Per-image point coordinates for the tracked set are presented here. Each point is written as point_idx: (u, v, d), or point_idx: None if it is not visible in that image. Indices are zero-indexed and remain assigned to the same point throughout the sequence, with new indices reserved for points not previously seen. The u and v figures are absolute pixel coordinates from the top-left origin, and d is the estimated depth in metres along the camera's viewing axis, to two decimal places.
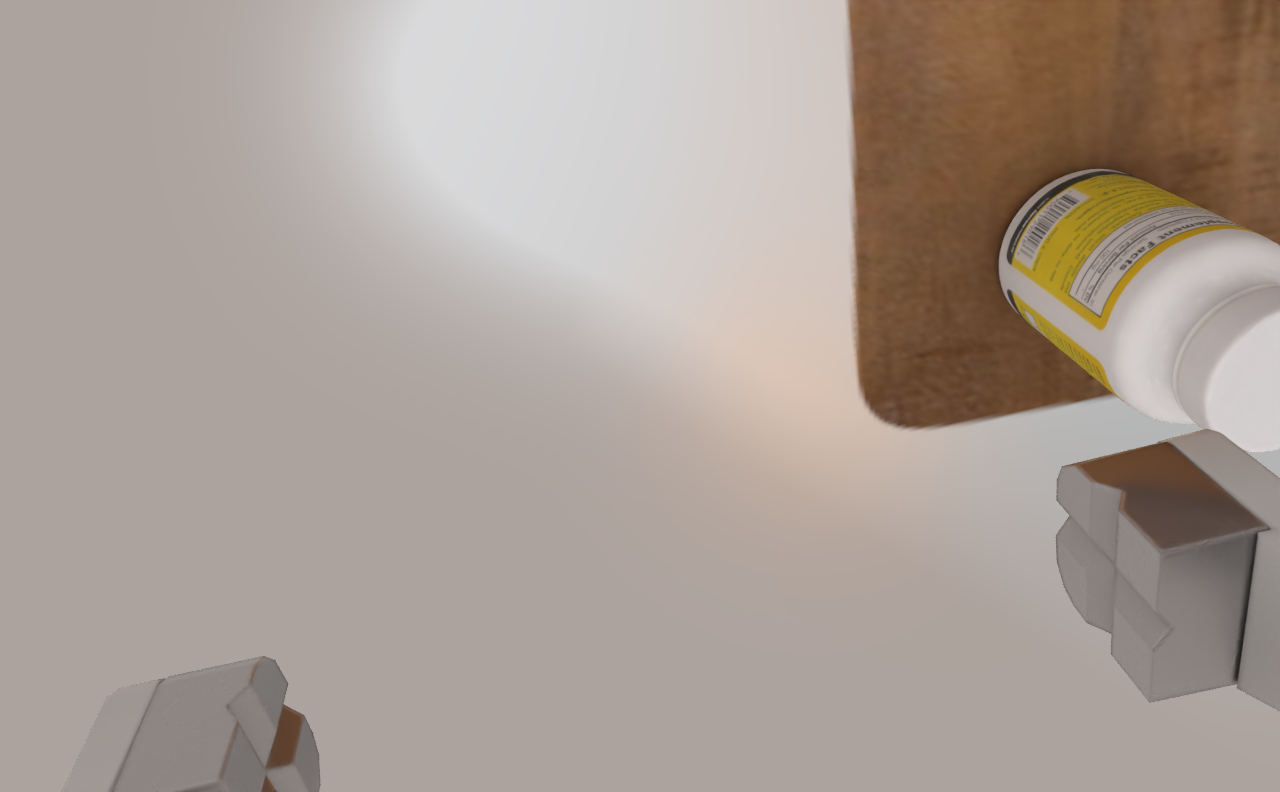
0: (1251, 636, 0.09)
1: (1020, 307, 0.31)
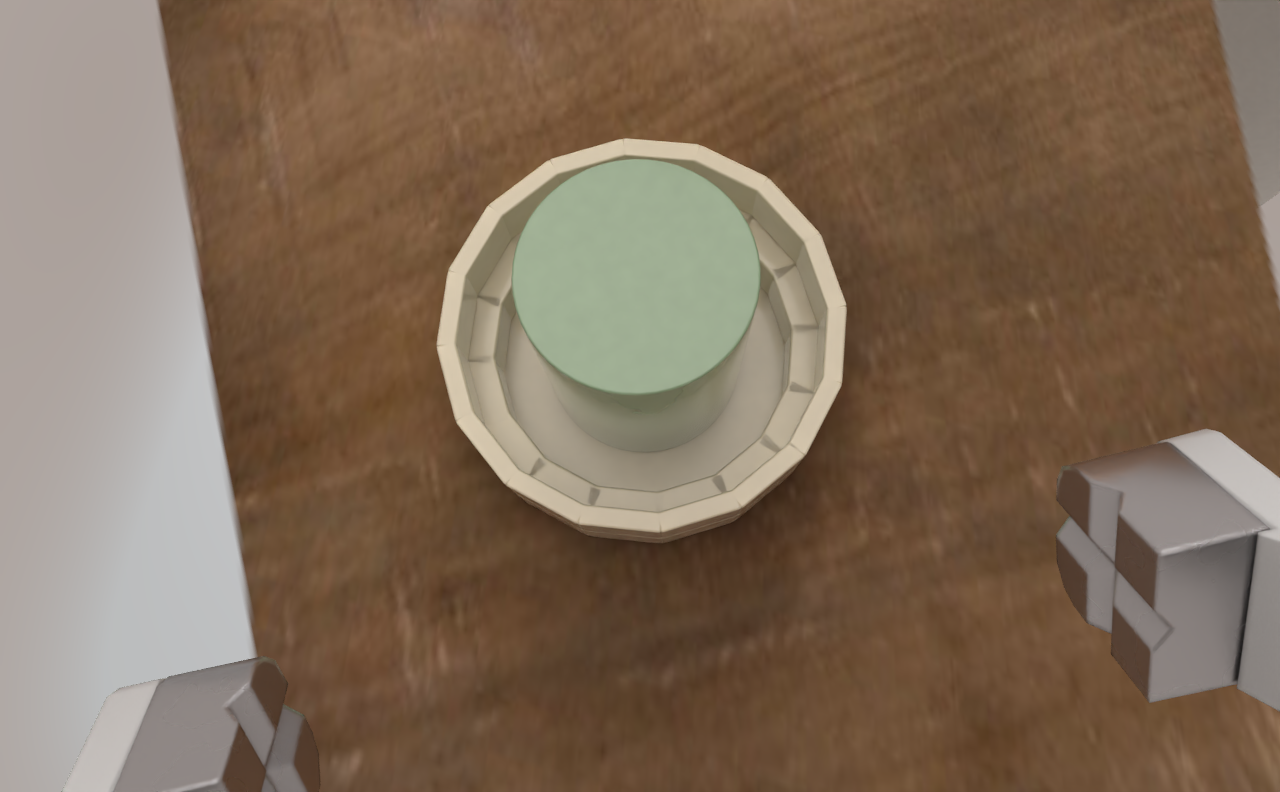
0: (1251, 635, 0.09)
1: None
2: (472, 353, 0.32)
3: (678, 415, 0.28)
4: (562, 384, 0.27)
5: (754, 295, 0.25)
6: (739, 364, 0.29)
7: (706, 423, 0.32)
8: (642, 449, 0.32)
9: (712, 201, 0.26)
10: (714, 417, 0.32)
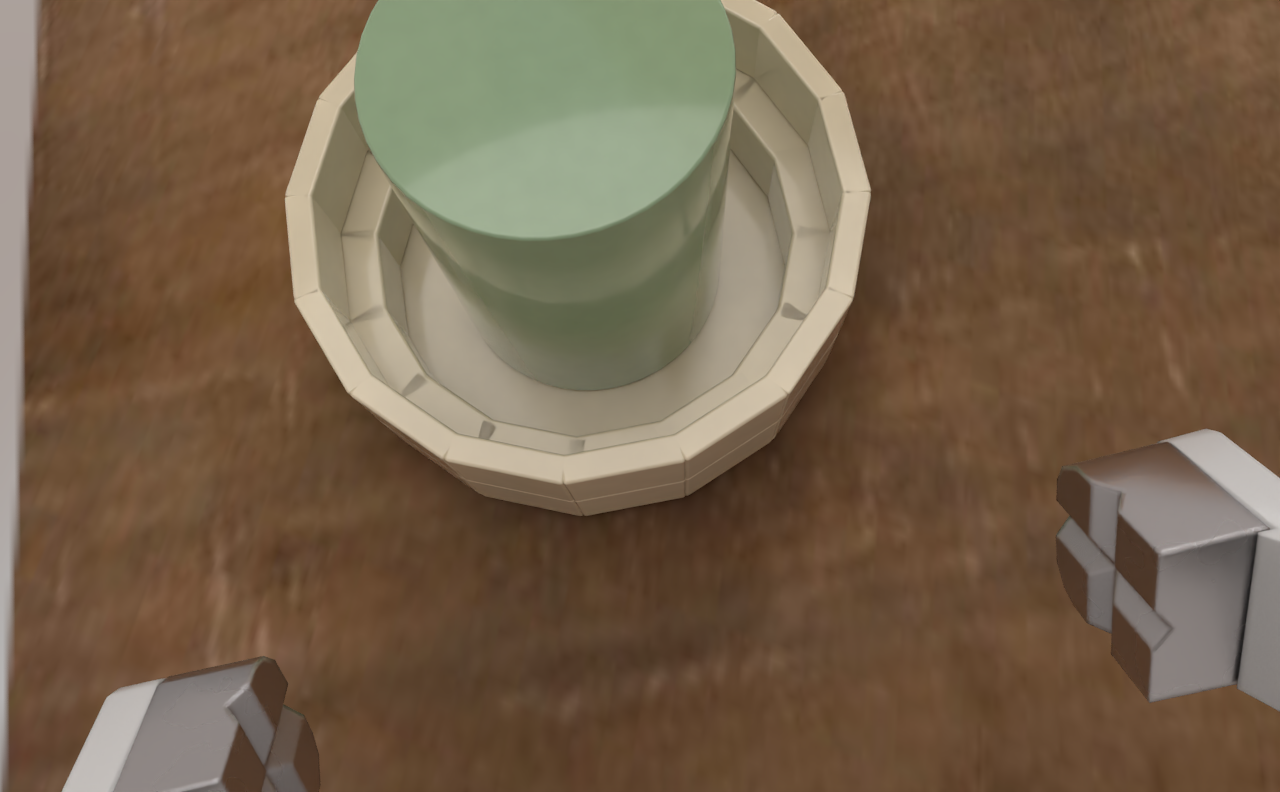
0: (1251, 636, 0.09)
1: None
2: (348, 226, 0.23)
3: (603, 311, 0.19)
4: (427, 237, 0.18)
5: (722, 108, 0.16)
6: (704, 253, 0.20)
7: (659, 352, 0.23)
8: (569, 382, 0.23)
9: None
10: (672, 346, 0.23)
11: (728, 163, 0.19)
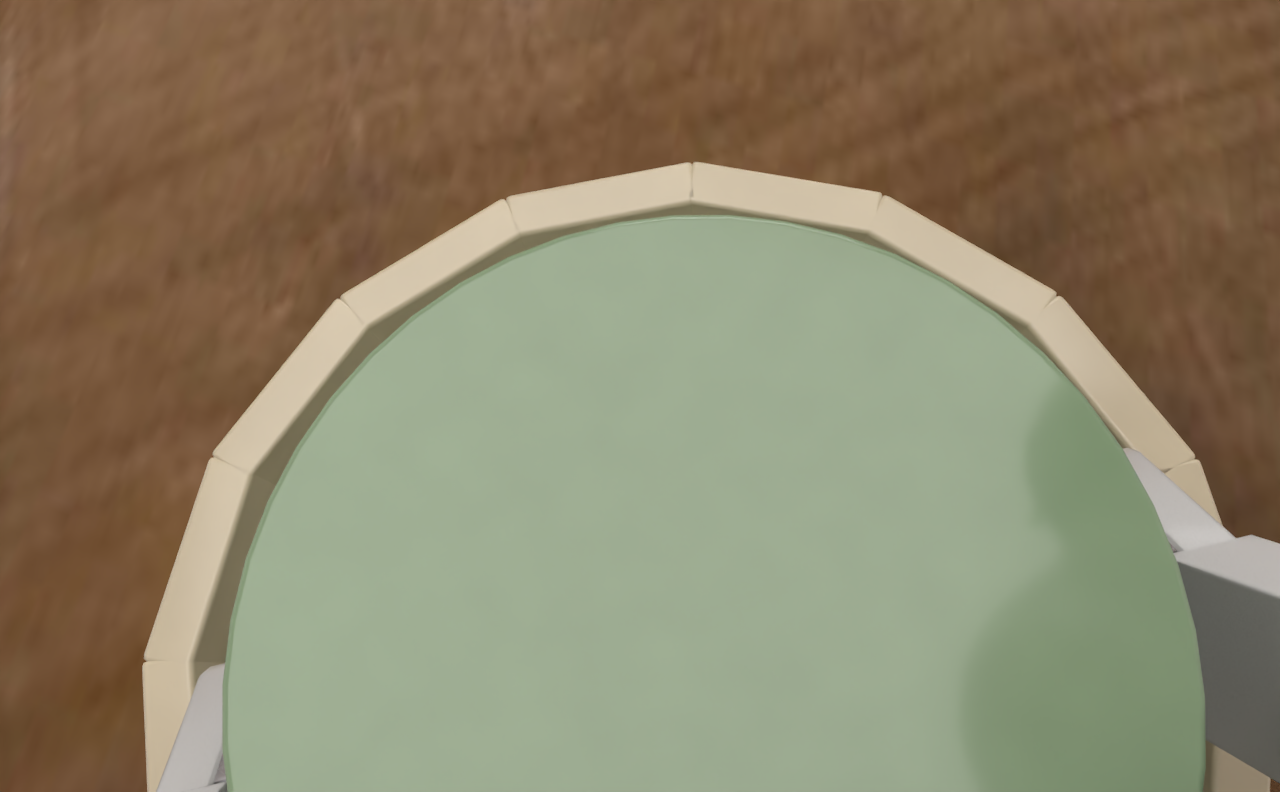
0: None
1: None
2: None
3: None
4: None
5: None
6: None
7: None
8: None
9: (1015, 398, 0.07)
10: None
11: None
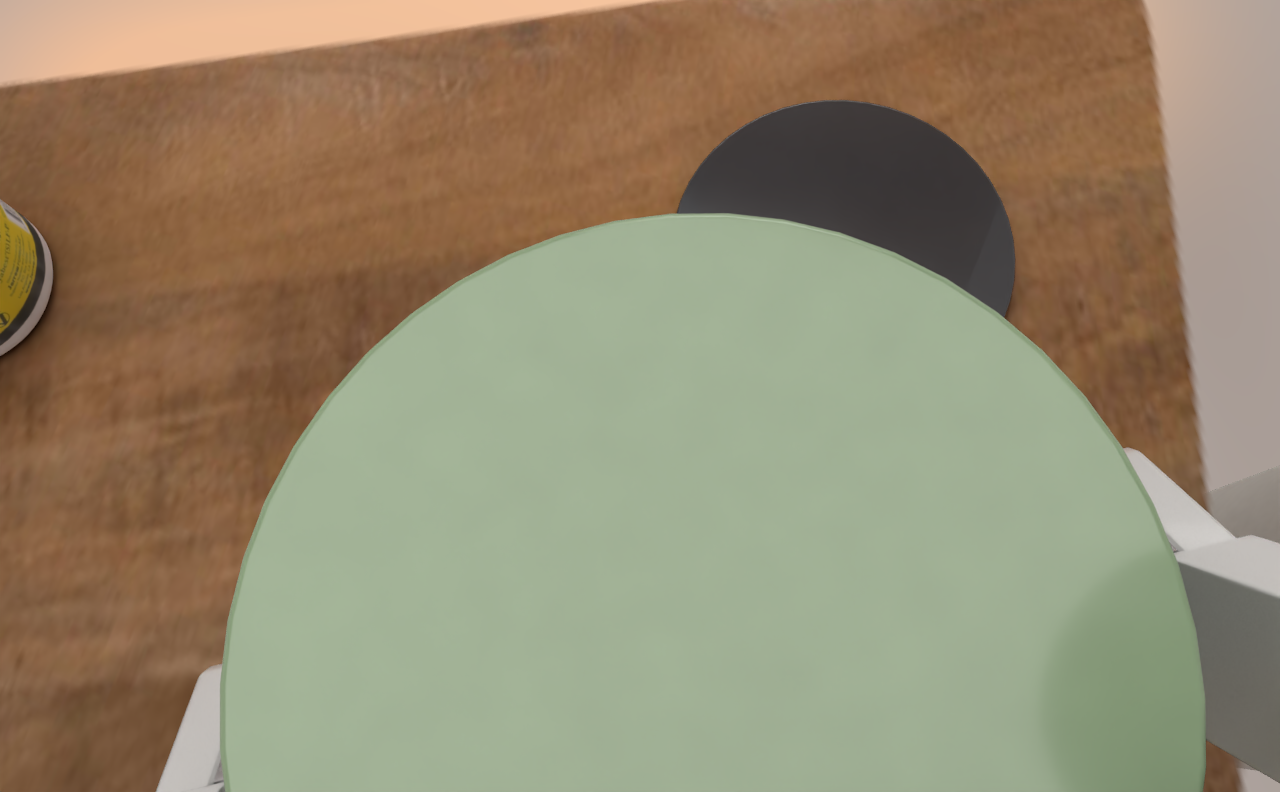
0: None
1: None
2: None
3: None
4: None
5: None
6: None
7: None
8: None
9: (1015, 397, 0.07)
10: None
11: None
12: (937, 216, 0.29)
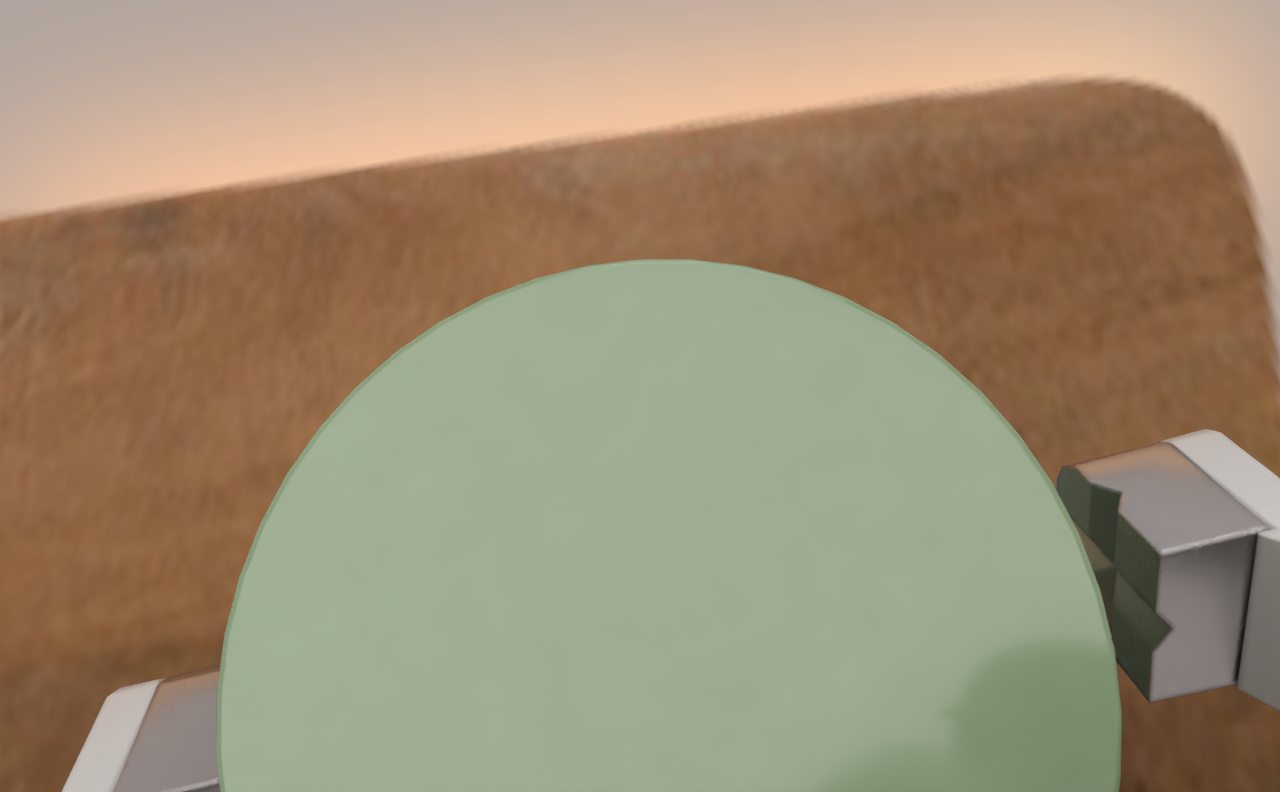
0: (1250, 636, 0.09)
1: None
2: None
3: None
4: None
5: None
6: None
7: None
8: None
9: (954, 434, 0.07)
10: None
11: None
12: None
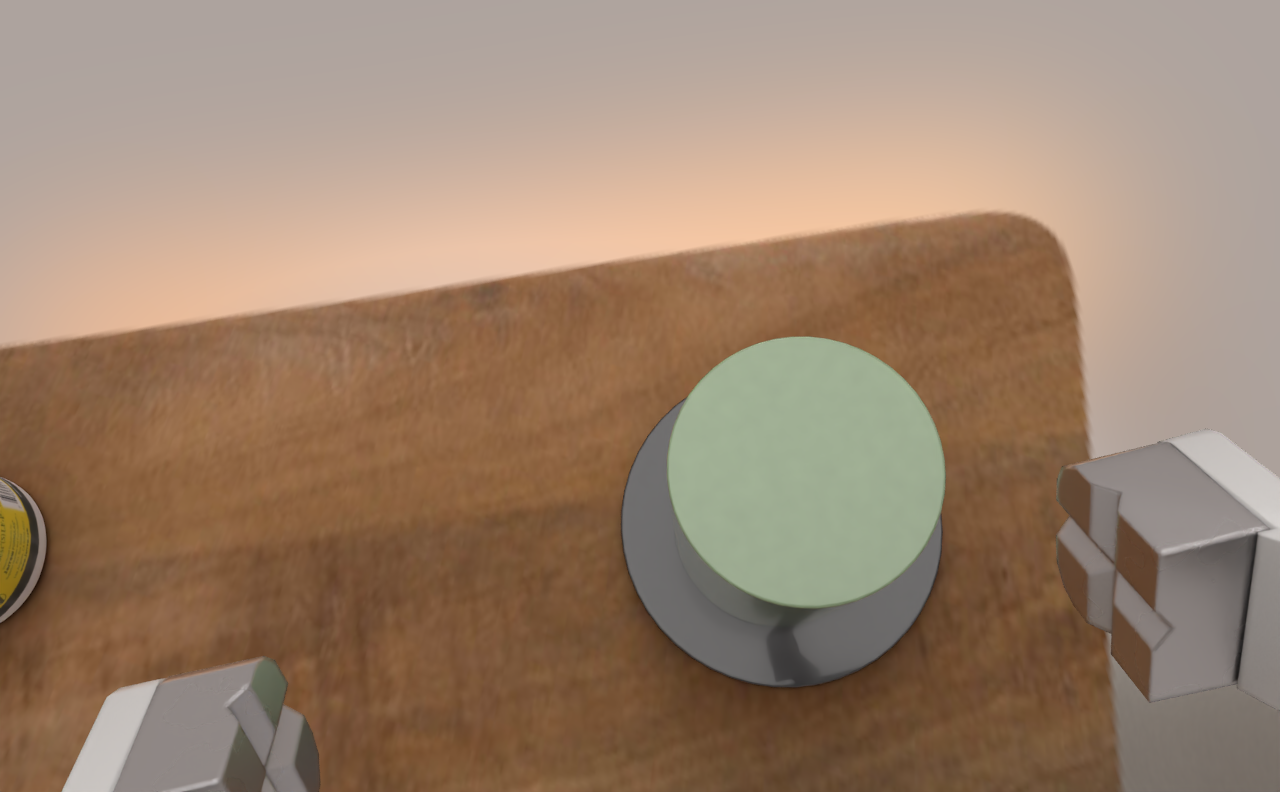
0: (1250, 636, 0.09)
1: None
2: None
3: (826, 613, 0.25)
4: (707, 573, 0.24)
5: (937, 505, 0.23)
6: None
7: None
8: (768, 625, 0.30)
9: (896, 393, 0.23)
10: None
11: None
12: None
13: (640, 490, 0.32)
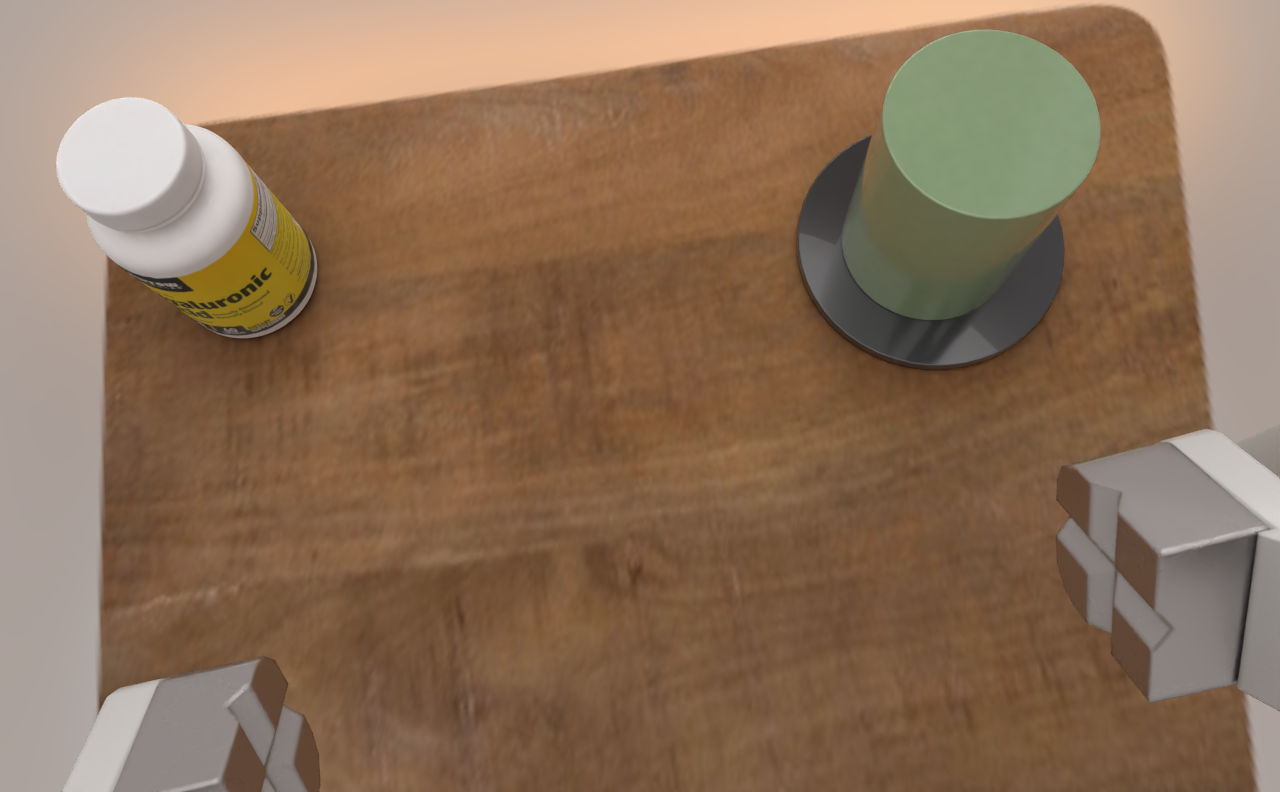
0: (1250, 636, 0.09)
1: None
2: None
3: (993, 263, 0.32)
4: (906, 218, 0.31)
5: (1095, 146, 0.29)
6: None
7: (989, 293, 0.36)
8: (926, 314, 0.36)
9: (1059, 68, 0.30)
10: (995, 290, 0.36)
11: None
12: None
13: (812, 218, 0.38)
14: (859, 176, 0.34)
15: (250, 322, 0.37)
